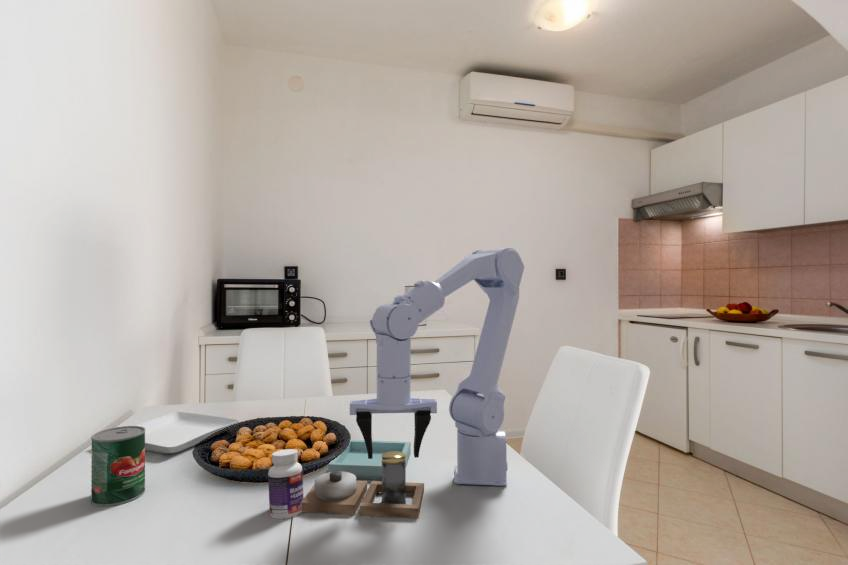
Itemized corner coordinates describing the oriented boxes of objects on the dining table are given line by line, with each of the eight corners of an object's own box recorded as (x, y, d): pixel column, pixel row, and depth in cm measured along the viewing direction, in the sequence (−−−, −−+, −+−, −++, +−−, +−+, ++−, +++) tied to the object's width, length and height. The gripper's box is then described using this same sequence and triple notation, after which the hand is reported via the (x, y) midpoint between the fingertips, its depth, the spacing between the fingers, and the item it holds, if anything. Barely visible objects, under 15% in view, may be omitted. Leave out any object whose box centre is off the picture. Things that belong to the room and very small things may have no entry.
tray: (410, 453, 101) (410, 441, 101) (401, 480, 88) (401, 467, 88) (347, 451, 103) (347, 439, 103) (328, 477, 89) (328, 464, 89)
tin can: (406, 498, 80) (406, 451, 80) (403, 509, 76) (403, 460, 76) (384, 497, 81) (384, 450, 81) (379, 508, 77) (379, 459, 77)
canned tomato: (133, 504, 78) (133, 438, 78) (81, 508, 77) (81, 441, 77) (152, 484, 86) (152, 424, 86) (105, 487, 84) (105, 426, 84)
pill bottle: (296, 520, 73) (293, 456, 74) (263, 520, 74) (261, 457, 74) (309, 506, 78) (306, 446, 79) (278, 507, 79) (276, 448, 80)
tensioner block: (424, 491, 83) (424, 466, 83) (418, 518, 73) (418, 489, 73) (318, 487, 85) (318, 462, 85) (300, 512, 75) (300, 484, 75)
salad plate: (172, 462, 97) (172, 445, 97) (98, 450, 104) (98, 435, 104) (242, 431, 117) (242, 418, 118) (176, 423, 124) (176, 410, 124)
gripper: (433, 370, 83) (433, 446, 83) (351, 371, 82) (351, 448, 82) (438, 378, 76) (438, 461, 76) (348, 379, 75) (348, 464, 75)
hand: (393, 456), depth 79 cm, fingers open, 7 cm apart
